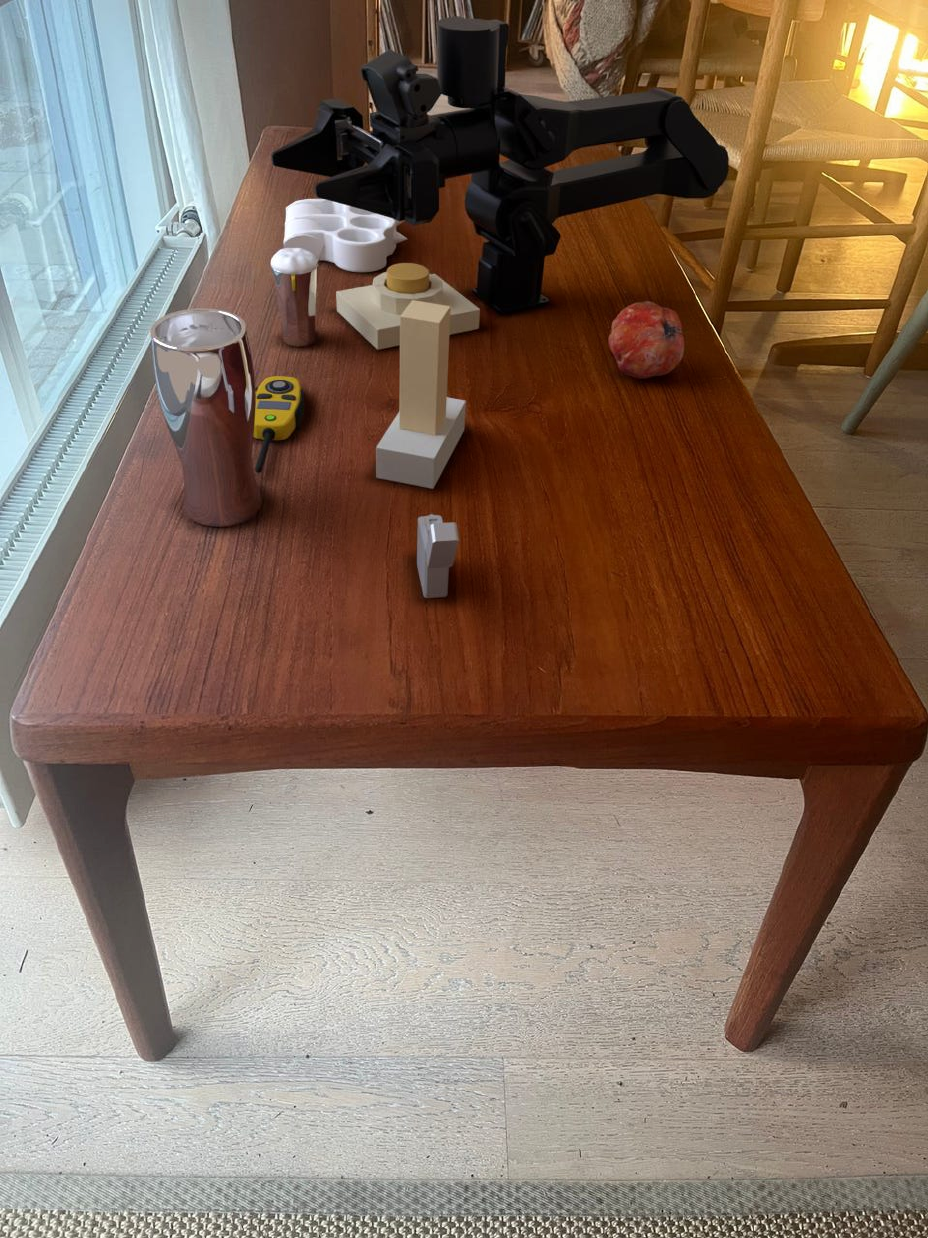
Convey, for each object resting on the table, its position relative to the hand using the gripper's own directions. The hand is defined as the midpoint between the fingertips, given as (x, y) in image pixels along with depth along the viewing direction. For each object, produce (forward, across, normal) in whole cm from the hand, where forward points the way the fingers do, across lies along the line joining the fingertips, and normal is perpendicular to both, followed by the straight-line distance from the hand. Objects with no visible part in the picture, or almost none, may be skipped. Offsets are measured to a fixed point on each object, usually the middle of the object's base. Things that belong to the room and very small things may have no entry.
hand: (293, 174), depth 88 cm
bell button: (-12, 0, +13) cm, 18 cm away
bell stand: (-12, 0, +17) cm, 21 cm away
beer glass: (+18, +22, +16) cm, 33 cm away
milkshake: (0, -1, +17) cm, 17 cm away
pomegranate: (-27, +20, +18) cm, 38 cm away
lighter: (+9, +40, +16) cm, 44 cm away
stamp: (0, +23, +17) cm, 28 cm away
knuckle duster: (-16, -22, +17) cm, 32 cm away
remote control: (+10, +14, +16) cm, 24 cm away
